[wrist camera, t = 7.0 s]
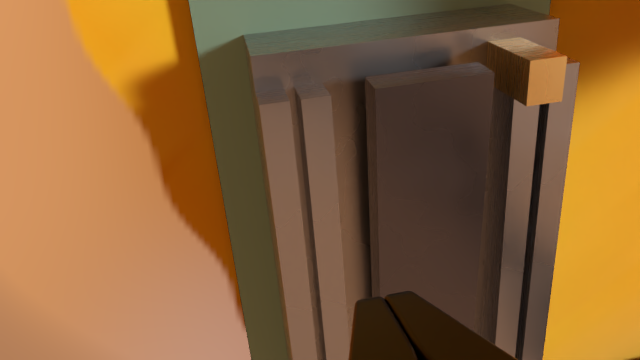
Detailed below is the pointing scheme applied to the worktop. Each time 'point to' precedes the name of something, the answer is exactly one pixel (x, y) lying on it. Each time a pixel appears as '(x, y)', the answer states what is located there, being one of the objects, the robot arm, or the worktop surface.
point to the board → (241, 135)
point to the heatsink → (352, 164)
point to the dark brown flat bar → (428, 182)
